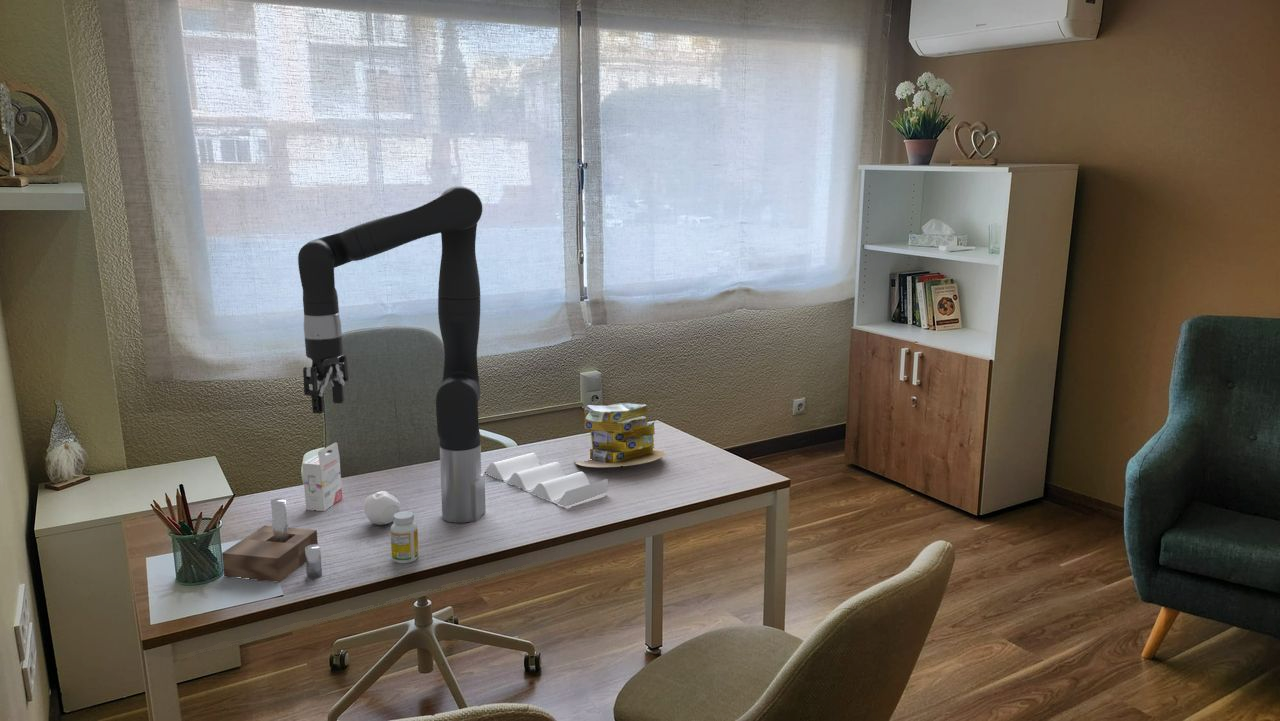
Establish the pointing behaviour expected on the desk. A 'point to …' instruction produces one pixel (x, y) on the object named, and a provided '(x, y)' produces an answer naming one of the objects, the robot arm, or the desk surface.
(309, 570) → the short pin
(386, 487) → the desk surface
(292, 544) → the socket block
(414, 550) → the supplement bottle
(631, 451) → the stack of yellow boxes
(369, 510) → the motion sensor
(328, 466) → the ink cartridge box
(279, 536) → the long pin
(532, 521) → the desk surface
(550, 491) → the white wavy rack
